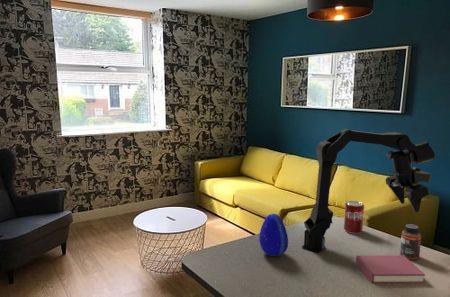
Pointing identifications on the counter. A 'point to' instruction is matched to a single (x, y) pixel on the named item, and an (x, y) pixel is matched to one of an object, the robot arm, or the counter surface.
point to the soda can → (353, 217)
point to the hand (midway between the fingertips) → (409, 207)
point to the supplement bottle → (410, 242)
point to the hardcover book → (389, 269)
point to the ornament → (273, 236)
